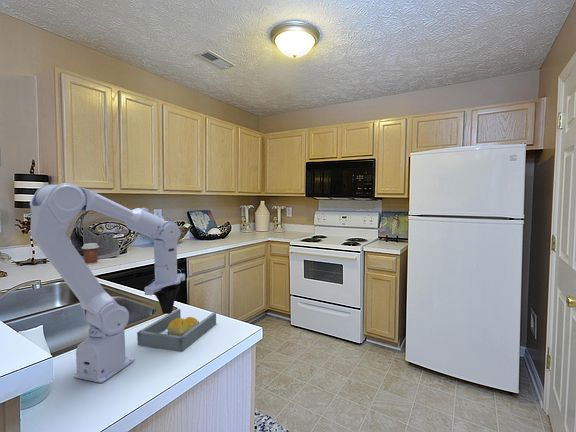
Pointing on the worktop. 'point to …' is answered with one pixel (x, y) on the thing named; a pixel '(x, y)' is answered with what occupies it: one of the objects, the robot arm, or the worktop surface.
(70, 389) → the worktop surface
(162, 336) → the open-side box
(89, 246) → the coffee cup
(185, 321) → the bread roll
